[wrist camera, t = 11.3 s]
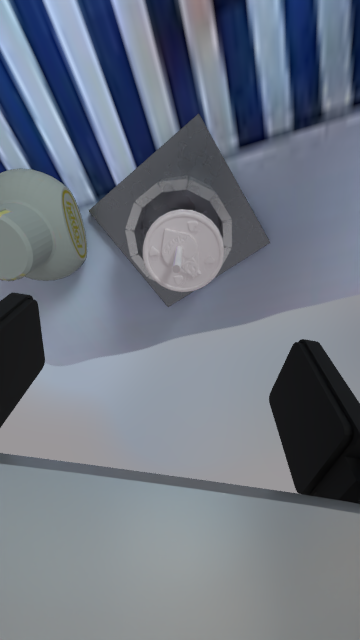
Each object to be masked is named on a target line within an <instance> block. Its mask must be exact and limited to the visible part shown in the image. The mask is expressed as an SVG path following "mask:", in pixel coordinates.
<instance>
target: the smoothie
mask: <svg viewBox="0 0 360 640" xmlns="http://www.w3.org/2000/svg"><path fill="white" fill-rule="evenodd" d="M223 257H224V247H223V239H222V237H221V234H220V232H219V229H218V228H217V227H216V225H215V224H214V223H213V222H212V220H210V219H209V218H208V217H206V216H205V215H203V214H202V213H199V212H196V211H193V210H185V209H179V210H175V211H170V212H168V213H166V214H164V215H162V216H160V217H159V218H158V219H157V220H156V221H155V222H154V223H153V224H152V225H151V227H150V228H149V230H148V232H147V234H146V237H145V240H144V244H143V260H144V264H145V266H146V269H147V271H148V272H149V274H150V275H151V277H152V278H153V279H154V280H155V281H156V282H157V283H158V284H160V285H161V286H163V287H165V288H167V289H170V290H173V291H178V292H189V291H194V290H197V289H200V288H202V287H204V286H205V285H207V284H208V283H210V282H211V281H212V280H213V279H214V278H215V276H216V275H217V274H218V272H219V270H220V268H221V265H222V262H223Z"/></svg>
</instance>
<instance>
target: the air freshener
mask: <svg viewBox="0 0 360 640" xmlns="http://www.w3.org/2000/svg"><path fill="white" fill-rule="evenodd" d="M86 256H87V241H86V234H85V229H84V225H83V221H82V217H81V214H80V211H79V208H78V205H77V203H76V201H75V198H74V197H73V195H72V193H71V191H70V190H69V189H68V188H67V187H66V186H64V185H63V184H62V183H61V182H59V181H58V180H56V179H55V178H53V177H51V176H49V175H47V174H44V173H42V172H39V171H35V170H31V169H13V170H8V171H5V172H2V173H0V280H7V281H14V280H16V279H20V278H23V277H24V276H25V277H28V278H31V279H35V280H43V281H49V280H57V279H61V278H64V277H66V276H69V275H71V274H72V273H74V272H75V271H76V270H77V269H78V268H79V267H80V266H81V265H82V264H83V262H84V261H85V259H86Z"/></svg>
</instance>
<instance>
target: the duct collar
mask: <svg viewBox="0 0 360 640" xmlns="http://www.w3.org/2000/svg"><path fill="white" fill-rule="evenodd" d="M179 209H185V210H193V211H196V212H199V213H202V214H203V215H205V216H206V217H208V218H209V219H210V220H212V222H213V223H214V224H215V225H216V227H217V228H218V229H219V232H220V234H221V237H222V239H223V247H224V257H223V262H222V265H221V268H220V270H219V272H218V274H217V275H216V276H215V277H217V276H218V275H220V274H222V273H223V272H225V271H226V270H228V269H229V268H231V267H233V266H234V265H236V264H237V263H239V262H240V261H242V260H244V259H245V258H247V257H248V256H250V255H252V254H253V253H255V252H256V251H258V250H259V249H261V248H263V247H264V246H266V245H267V244H269V243H270V241H269V239H268V238H267V236H266V234H265V232H264V230H263V229H262V227H261V225H260V223H259V221H258V220H257V218H256V216H255V214H254V212H253V211H252V209H251V207H250V205H249V203H248V202H247V200H246V198H245V196H244V194H243V193H242V191H241V189H240V187H239V185H238V184H237V182H236V180H235V178H234V176H233V174H232V173H231V171H230V169H229V167H228V165H227V164H226V162H225V160H224V158H223V156H222V155H221V153H220V151H219V149H218V147H217V146H216V144H215V142H214V140H213V138H212V137H211V135H210V133H209V131H208V129H207V128H206V126H205V124H204V122H203V120H202V119H201V117H200V115H199V114H198V115H197V116H195V117H194V118H193V119H192V120H191V121H190V122H189V123H188V124H186V125H185V126H184V127H183V128H182V129H181V130H180V131H178V132H177V133H176V134H175V135H174V136H173V137H172V138H171V139H169V140H168V141H167V142H166V143H165V144H164V145H163V146H161V147H160V148H159V149H158V150H157V151H156V152H155V153H153V154H152V155H151V156H150V157H149V158H148V159H147V160H146V161H144V162H143V163H142V164H141V165H140V166H139V167H138V168H136V169H135V170H134V171H133V172H132V173H131V174H130V175H129V176H127V177H126V178H125V179H124V180H123V181H122V182H121V183H119V184H118V185H117V186H116V187H115V188H114V189H113V190H112V191H110V192H109V193H108V194H107V195H106V196H105V197H104V198H102V199H101V200H100V201H99V202H98V203H97V204H96V205H95V206H93V207H92V208H91V209H90V210H89V212H90V213H91V214H92V216H93V217H94V218H95V219H96V220H97V222H98V223H99V224H100V225H101V227H102V228H103V229H104V230H105V231H106V233H107V234H108V235H109V236H110V237H111V239H112V240H113V241H114V242H115V243H116V245H117V246H118V247H119V248H120V249H121V251H122V252H123V253H124V254H125V256H126V257H127V258H128V259H129V260H130V262H131V263H132V264H133V265H134V266H135V268H136V269H137V270H138V271H139V272H140V274H141V275H142V276H143V277H144V278H145V280H146V281H147V282H148V283H149V285H150V286H151V287H152V288H153V289H154V291H155V292H156V293H157V294H158V295H159V297H160V298H161V299H162V300H163V301H164V303H165V304H166V305H167V306H168V307H169V306H171V305H172V304H174V303H176V302H177V301H179V300H180V299H182V298H184V297H185V296H187V295H188V294H190V293H191V292H193V291H189V292H178V291H173V290H170V289H167V288H165V287H163V286H161V285H160V284H158V283H157V282H156V281H155V280H154V279H153V278H152V277H151V275H150V274H149V272H148V271H147V269H146V266H145V264H144V260H143V244H144V240H145V237H146V234H147V232H148V230H149V228H150V227H151V225H152V224H153V223H154V222H155V221H156V220H157V219H158V218H159V217H160V216H162V215H164V214H166V213H168V212H170V211H175V210H179ZM194 291H195V290H194Z"/></svg>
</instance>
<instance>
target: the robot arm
mask: <svg viewBox="0 0 360 640" xmlns="http://www.w3.org/2000/svg"><path fill="white" fill-rule="evenodd" d="M44 363H45V356H44V349H43V341H42V333H41V325H40V317H39V309H38V303H37V301H36V300H33V298H32V296H30V295H25V294H19V293H11V294H9V295H8V296H7V297H5V298H4V299H3V300H1V301H0V427H1V426H2V425H3V423H4V422H5V420H6V419H7V417H8V416H9V415H10V413H11V412H12V411H13V409H14V408H15V406H16V405H17V403H18V402H19V401H20V399H21V398H22V396H23V395H24V394H25V392H26V391H27V389H28V388H29V386H30V385H31V384H32V382H33V381H34V380H35V378H36V377H37V375H38V374H39V373H40V371H41V370H42V368H43V366H44ZM269 402H270V406H271V409H272V412H273V415H274V418H275V422H276V425H277V429H278V432H279V436H280V439H281V442H282V445H283V449H284V452H285V455H286V459H287V462H288V465H289V469H290V472H291V475H292V478H293V482H294V485H295V488H296V490H297V492H298V493H299V494H296V493H290V492H282V491H276V490H269V489H262V488H254V487H248V486H240V485H233V484H226V483H219V482H212V481H205V480H197V479H190V478H183V477H175V476H169V475H161V474H153V473H147V472H139V471H132V470H124V469H117V468H110V467H102V466H95V465H88V464H80V463H72V462H64V461H57V460H49V459H42V458H34V457H26V456H18V455H10V454H3V453H0V640H360V403H359V402H358V401H357V399H356V397H355V396H354V394H353V393H352V391H351V390H350V388H349V387H348V386H347V384H346V382H345V381H344V380H343V378H342V377H341V375H340V373H339V372H338V370H337V369H336V367H335V366H334V364H333V363H332V361H331V360H330V358H329V357H328V355H327V354H326V352H325V351H324V349H323V348H322V346H321V345H320V343H318V342H316V341H310V340H304V339H302V340H300V341H299V342H295V343H294V344H293V346H292V348H291V350H290V352H289V354H288V356H287V359H286V361H285V363H284V365H283V367H282V369H281V372H280V373H279V376H278V378H277V380H276V382H275V384H274V386H273V388H272V391H271V393H270V396H269Z"/></svg>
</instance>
